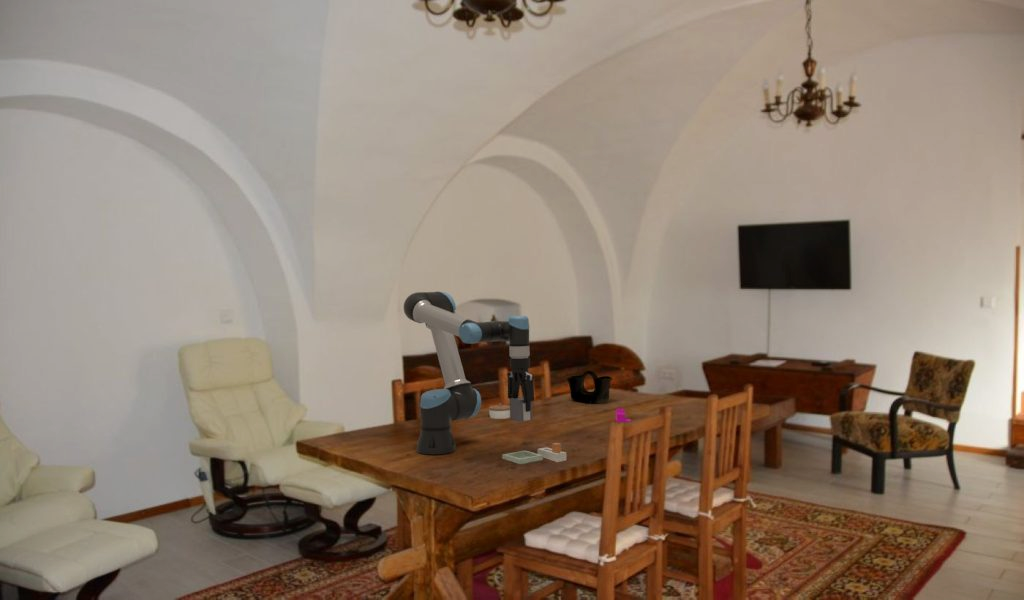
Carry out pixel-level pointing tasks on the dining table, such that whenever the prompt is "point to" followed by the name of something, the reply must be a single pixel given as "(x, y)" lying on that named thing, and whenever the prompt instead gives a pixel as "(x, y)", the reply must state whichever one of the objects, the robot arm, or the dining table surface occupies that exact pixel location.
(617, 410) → the toy block
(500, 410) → the lidded jar
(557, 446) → the breaker switch
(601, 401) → the black handbag
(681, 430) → the dining table surface
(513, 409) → the grey rectangular block
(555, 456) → the breaker housing
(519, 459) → the tray
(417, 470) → the dining table surface
